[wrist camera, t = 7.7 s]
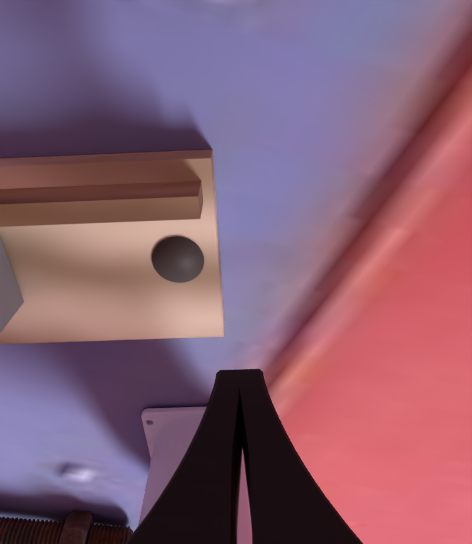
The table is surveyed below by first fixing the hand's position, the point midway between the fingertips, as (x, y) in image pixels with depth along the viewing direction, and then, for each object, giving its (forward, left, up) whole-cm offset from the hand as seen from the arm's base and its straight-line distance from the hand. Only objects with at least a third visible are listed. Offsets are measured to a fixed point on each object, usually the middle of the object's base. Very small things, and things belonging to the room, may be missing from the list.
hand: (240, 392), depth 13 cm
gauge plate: (0, +13, -10) cm, 17 cm away
